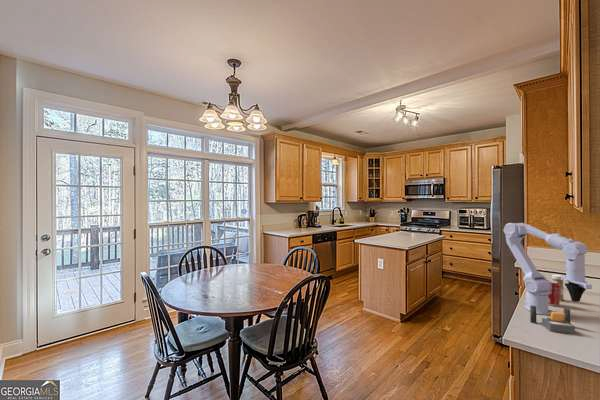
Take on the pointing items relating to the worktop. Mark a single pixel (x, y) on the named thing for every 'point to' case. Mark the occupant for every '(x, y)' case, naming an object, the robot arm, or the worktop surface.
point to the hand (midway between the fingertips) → (575, 301)
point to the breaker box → (558, 326)
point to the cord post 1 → (533, 314)
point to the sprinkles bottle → (560, 282)
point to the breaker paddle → (557, 316)
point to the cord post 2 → (567, 315)
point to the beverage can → (554, 294)
